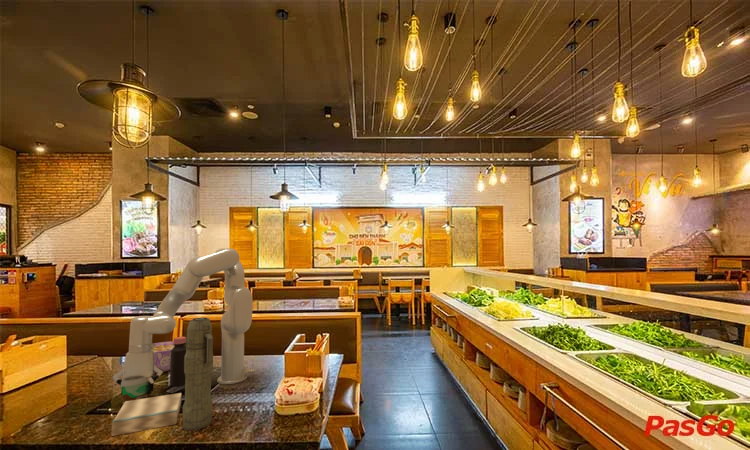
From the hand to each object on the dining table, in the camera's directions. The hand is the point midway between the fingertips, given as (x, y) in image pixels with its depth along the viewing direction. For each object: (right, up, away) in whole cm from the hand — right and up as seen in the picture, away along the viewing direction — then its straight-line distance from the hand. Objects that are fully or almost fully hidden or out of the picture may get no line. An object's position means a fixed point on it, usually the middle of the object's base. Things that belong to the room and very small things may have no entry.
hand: (137, 394), depth 137 cm
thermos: (+33, -1, -18) cm, 38 cm away
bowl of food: (-14, -6, +37) cm, 40 cm away
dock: (+14, -2, -14) cm, 19 cm away
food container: (+1, -3, 0) cm, 3 cm away
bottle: (+6, -5, +19) cm, 20 cm away
